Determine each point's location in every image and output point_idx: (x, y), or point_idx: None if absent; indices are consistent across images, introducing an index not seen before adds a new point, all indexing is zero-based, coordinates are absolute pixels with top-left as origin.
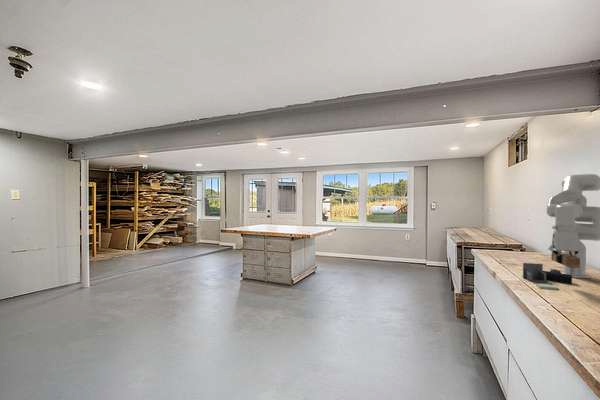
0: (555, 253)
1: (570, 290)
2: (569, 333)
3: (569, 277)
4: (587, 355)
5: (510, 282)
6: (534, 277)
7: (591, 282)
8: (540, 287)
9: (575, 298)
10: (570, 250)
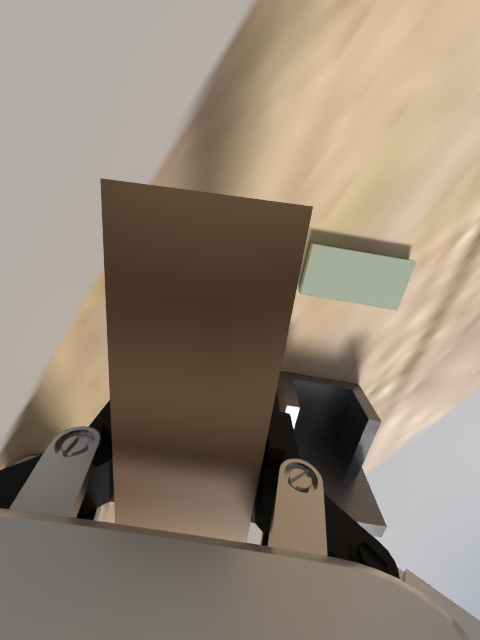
0: (348, 516)
1: None
2: None
3: None
4: None
5: None
6: (299, 434)
7: (41, 401)
8: (410, 260)
9: (351, 40)
10: (97, 524)
